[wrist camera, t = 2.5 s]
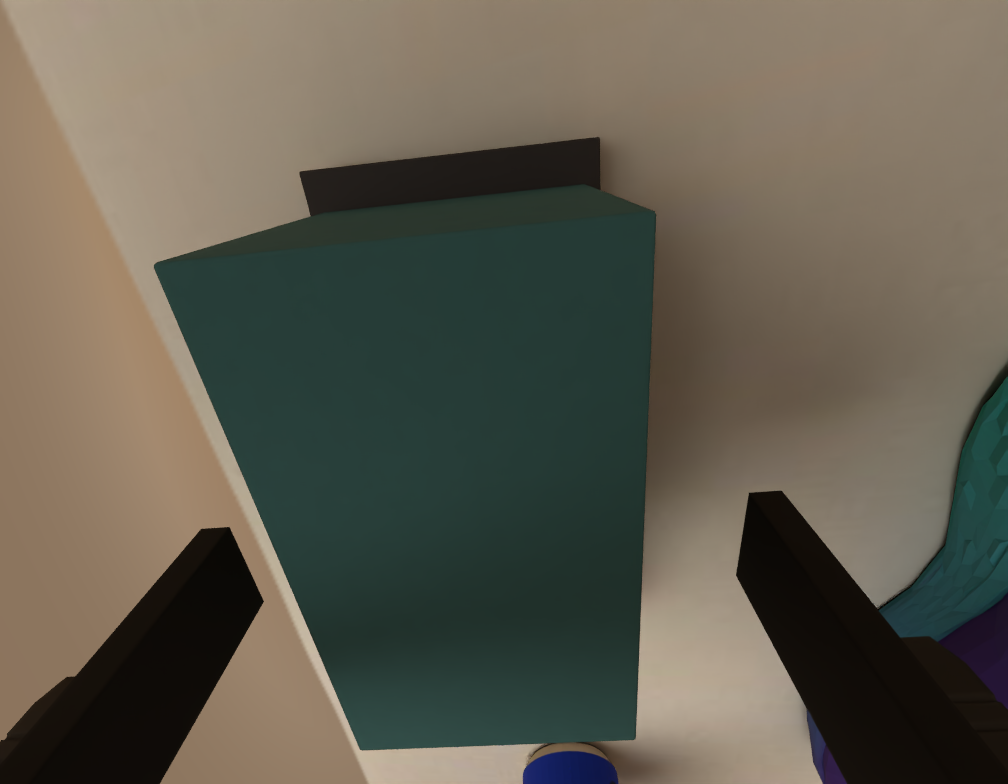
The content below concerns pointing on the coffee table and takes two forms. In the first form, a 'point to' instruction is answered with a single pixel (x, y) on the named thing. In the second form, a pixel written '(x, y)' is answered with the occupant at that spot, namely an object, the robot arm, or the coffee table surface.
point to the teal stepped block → (447, 434)
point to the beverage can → (569, 765)
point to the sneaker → (962, 571)
